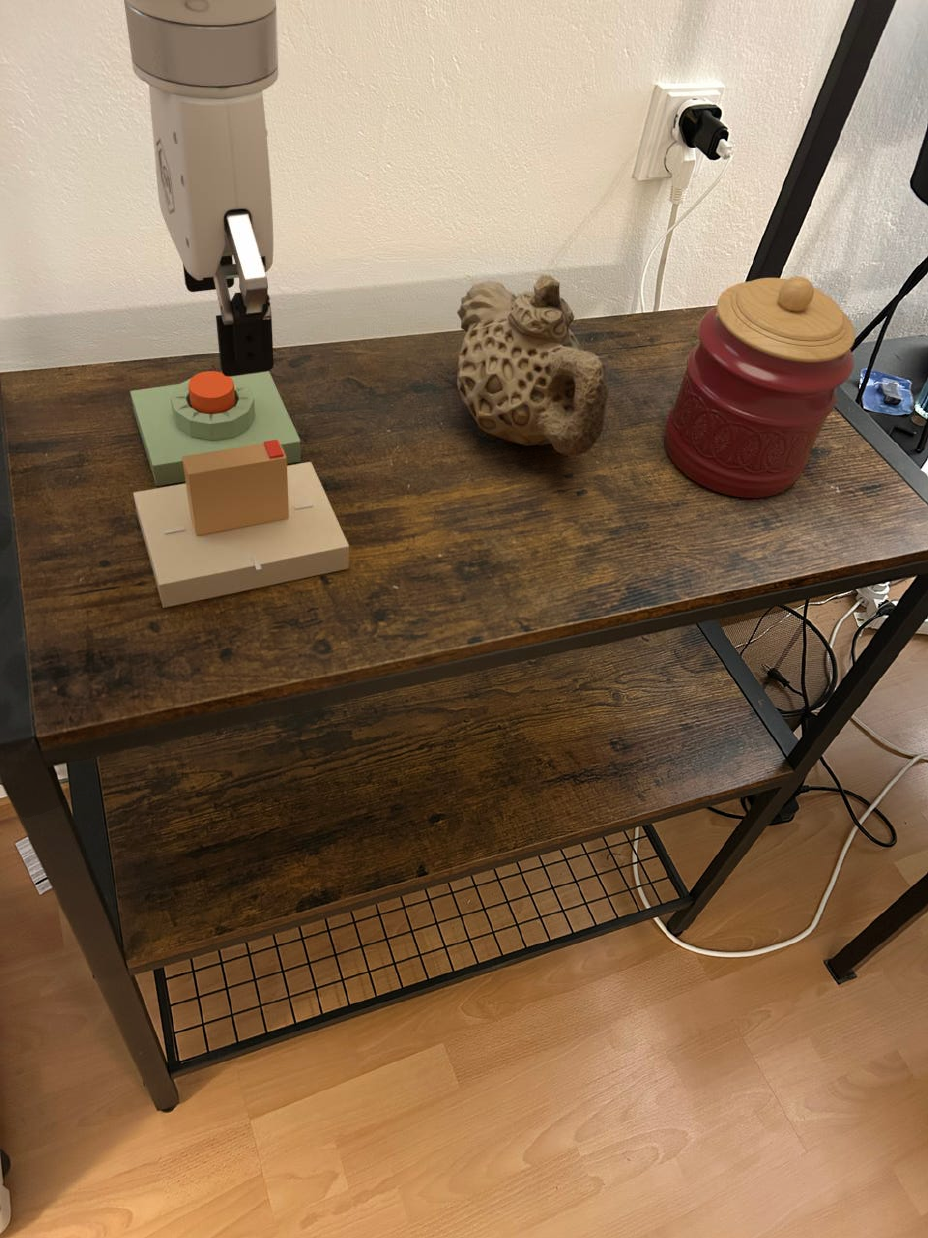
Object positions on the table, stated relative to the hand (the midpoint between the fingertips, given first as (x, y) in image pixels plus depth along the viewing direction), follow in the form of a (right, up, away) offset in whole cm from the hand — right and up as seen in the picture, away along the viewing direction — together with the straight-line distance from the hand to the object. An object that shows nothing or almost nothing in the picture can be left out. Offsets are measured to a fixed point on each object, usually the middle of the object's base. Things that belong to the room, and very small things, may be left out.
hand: (228, 327), depth 63 cm
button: (-5, -1, +17) cm, 18 cm away
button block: (-6, -3, +20) cm, 21 cm away
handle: (-2, -11, +10) cm, 15 cm away
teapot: (+20, -2, +25) cm, 32 cm away
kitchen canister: (+40, -4, +26) cm, 48 cm away
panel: (-2, -13, +12) cm, 18 cm away
